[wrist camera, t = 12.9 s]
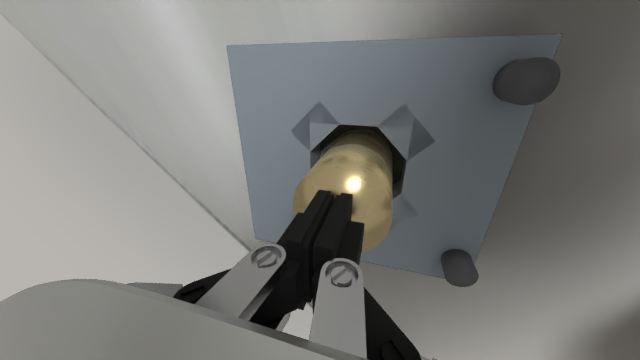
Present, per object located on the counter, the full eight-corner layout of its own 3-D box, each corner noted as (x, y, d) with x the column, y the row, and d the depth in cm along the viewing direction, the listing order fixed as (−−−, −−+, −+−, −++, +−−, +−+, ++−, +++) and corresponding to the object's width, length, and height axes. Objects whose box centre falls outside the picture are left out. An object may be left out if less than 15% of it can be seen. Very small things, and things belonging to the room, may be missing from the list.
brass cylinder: (397, 131, 17) (401, 173, 10) (387, 192, 19) (384, 262, 12) (330, 126, 18) (290, 160, 11) (328, 183, 20) (294, 243, 13)
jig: (533, 40, 13) (586, 27, 9) (458, 259, 19) (472, 300, 16) (247, 48, 17) (210, 42, 14) (267, 223, 24) (246, 249, 21)
